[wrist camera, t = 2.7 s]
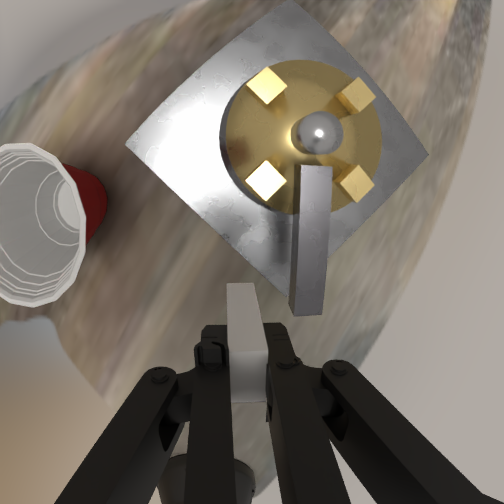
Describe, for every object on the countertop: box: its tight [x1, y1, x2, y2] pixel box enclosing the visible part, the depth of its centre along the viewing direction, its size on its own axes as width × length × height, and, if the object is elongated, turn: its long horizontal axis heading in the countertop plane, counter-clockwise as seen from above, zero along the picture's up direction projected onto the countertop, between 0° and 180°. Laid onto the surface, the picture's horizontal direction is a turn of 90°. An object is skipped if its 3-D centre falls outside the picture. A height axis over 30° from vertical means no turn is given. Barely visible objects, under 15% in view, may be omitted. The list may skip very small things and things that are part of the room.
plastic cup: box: [0, 143, 107, 307], centre depth 21 cm, size 11×11×12 cm
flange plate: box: [125, 0, 429, 297], centre depth 25 cm, size 20×20×4 cm
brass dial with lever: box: [226, 60, 382, 316], centre depth 21 cm, size 18×11×6 cm, turn 179°
